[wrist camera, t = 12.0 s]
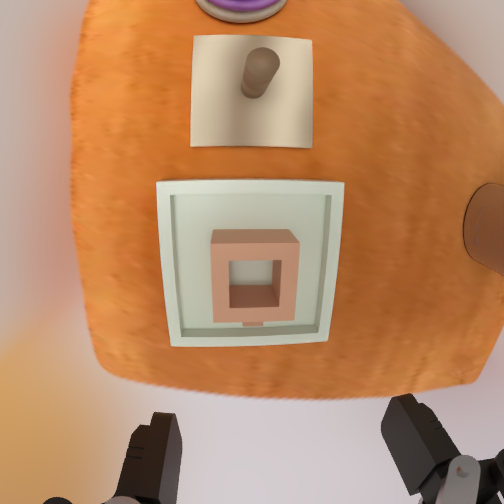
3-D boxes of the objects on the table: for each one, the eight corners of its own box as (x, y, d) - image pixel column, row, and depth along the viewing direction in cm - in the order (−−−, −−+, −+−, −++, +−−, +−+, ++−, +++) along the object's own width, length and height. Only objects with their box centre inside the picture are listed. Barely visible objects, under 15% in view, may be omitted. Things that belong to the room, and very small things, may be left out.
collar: (288, 229, 24) (300, 242, 21) (284, 307, 26) (293, 331, 23) (213, 229, 24) (210, 243, 20) (215, 308, 26) (213, 333, 22)
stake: (307, 46, 20) (339, 6, 13) (307, 148, 23) (344, 146, 15) (195, 42, 20) (183, -3, 12) (192, 147, 22) (175, 142, 15)
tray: (335, 180, 24) (344, 182, 22) (321, 329, 28) (327, 340, 26) (161, 179, 23) (156, 182, 21) (174, 334, 27) (171, 346, 25)
